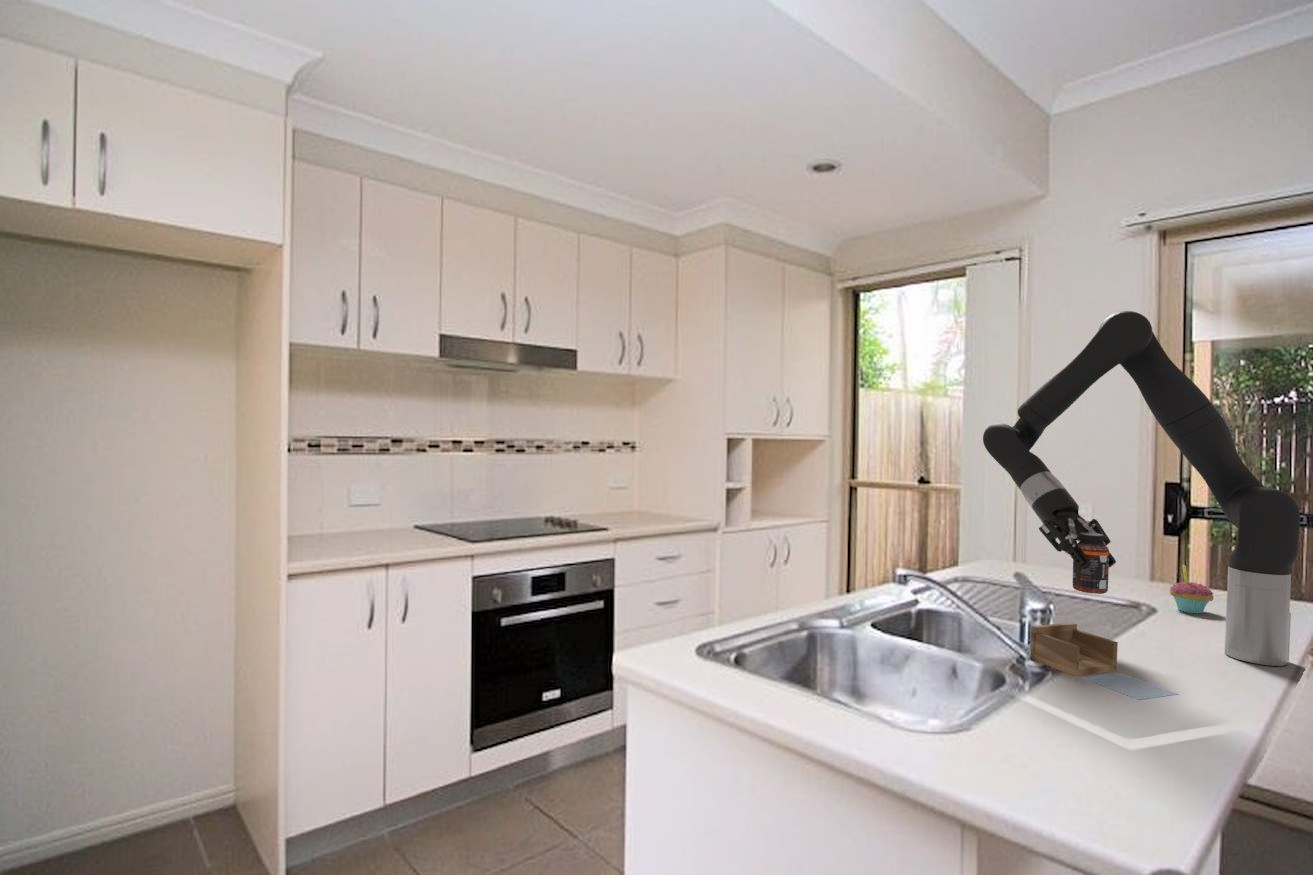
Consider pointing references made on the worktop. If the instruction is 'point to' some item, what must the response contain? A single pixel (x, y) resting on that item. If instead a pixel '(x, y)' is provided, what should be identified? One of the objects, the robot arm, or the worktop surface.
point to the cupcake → (1190, 595)
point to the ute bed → (1072, 649)
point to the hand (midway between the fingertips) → (1099, 565)
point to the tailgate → (1129, 686)
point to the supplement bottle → (1092, 565)
